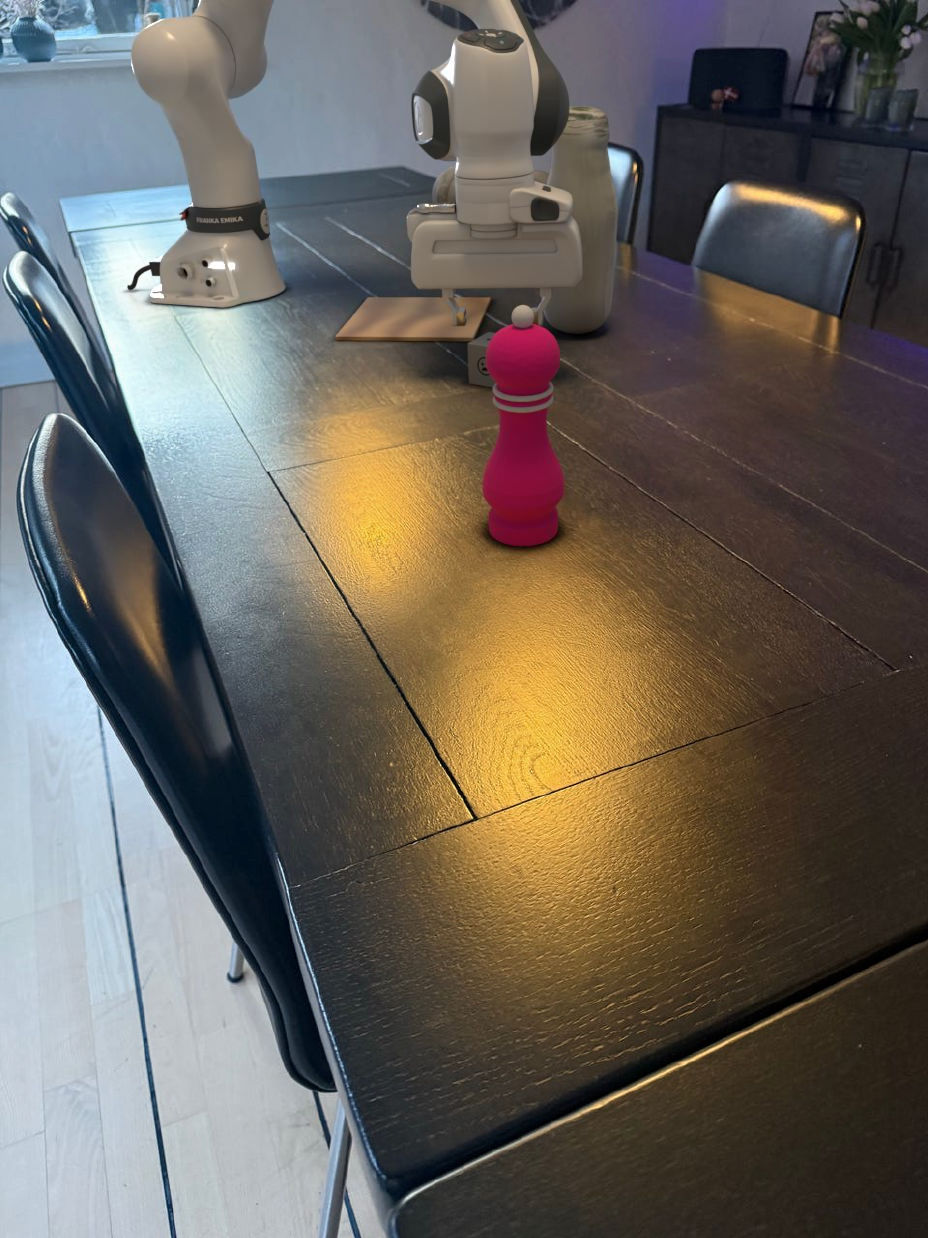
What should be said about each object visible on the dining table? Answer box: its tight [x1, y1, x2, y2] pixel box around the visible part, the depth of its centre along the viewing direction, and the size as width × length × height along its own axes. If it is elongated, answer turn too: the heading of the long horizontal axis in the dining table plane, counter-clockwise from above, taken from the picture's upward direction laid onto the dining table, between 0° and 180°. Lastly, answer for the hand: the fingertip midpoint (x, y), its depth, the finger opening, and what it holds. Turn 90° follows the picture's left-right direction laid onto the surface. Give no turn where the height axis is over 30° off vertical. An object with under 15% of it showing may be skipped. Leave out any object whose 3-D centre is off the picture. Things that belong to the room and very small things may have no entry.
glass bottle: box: [541, 105, 619, 335], centre depth 120 cm, size 10×10×28 cm
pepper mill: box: [481, 304, 565, 547], centre depth 76 cm, size 7×7×20 cm
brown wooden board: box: [335, 296, 492, 342], centre depth 135 cm, size 20×20×1 cm
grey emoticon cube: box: [467, 331, 497, 389], centre depth 111 cm, size 5×5×5 cm
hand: (498, 324), depth 109 cm, fingers open, 8 cm apart
